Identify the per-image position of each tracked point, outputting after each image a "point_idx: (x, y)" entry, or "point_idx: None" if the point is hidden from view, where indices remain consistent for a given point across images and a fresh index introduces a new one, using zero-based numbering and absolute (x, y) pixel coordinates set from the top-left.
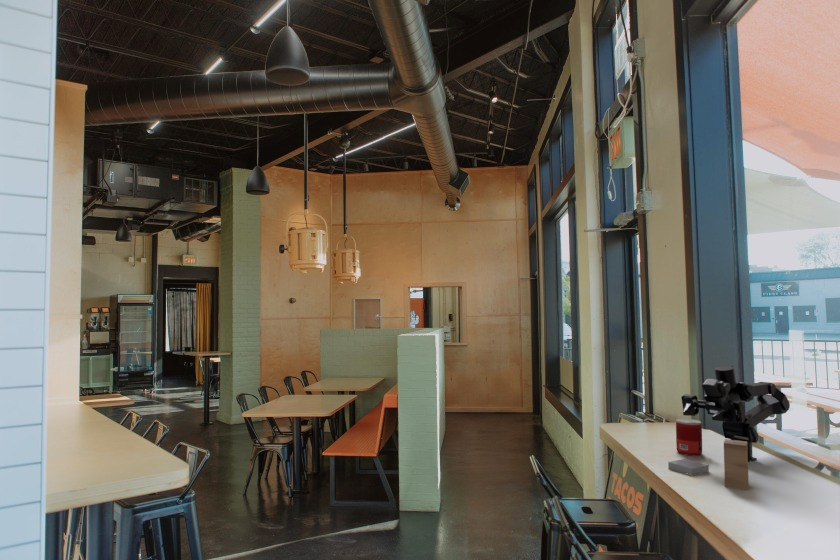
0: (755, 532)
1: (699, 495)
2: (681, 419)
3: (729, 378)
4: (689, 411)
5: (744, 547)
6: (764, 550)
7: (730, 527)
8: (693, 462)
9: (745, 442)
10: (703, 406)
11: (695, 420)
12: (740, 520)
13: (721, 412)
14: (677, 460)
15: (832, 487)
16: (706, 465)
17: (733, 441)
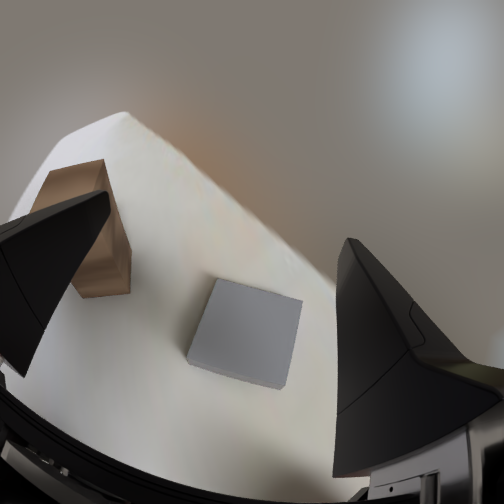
0: (111, 131)
1: (172, 179)
2: None
3: None
4: (354, 332)
5: (127, 112)
6: (112, 116)
7: (133, 128)
8: (240, 356)
9: (38, 200)
10: (248, 500)
11: None
12: (120, 143)
13: (27, 217)
14: (292, 341)
15: None
16: (190, 347)
17: (69, 188)
